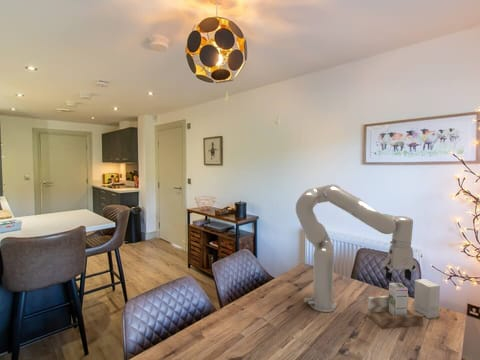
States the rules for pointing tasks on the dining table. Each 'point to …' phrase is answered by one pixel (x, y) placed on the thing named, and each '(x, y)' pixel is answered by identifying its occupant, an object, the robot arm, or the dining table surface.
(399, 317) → the cleat board
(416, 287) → the skincare box
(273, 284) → the dining table surface
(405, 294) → the syrup box
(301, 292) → the dining table surface
